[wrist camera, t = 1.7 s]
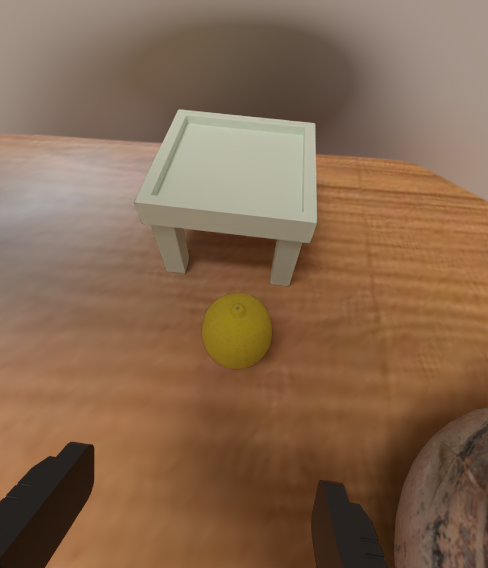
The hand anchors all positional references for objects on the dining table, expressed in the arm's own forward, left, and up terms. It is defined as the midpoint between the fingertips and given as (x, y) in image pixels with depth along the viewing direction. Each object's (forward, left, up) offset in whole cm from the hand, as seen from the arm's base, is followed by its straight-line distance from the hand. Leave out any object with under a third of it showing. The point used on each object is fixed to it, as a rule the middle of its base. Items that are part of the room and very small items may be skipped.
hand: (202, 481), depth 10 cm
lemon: (0, +10, -13) cm, 16 cm away
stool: (-2, +24, -13) cm, 27 cm away
